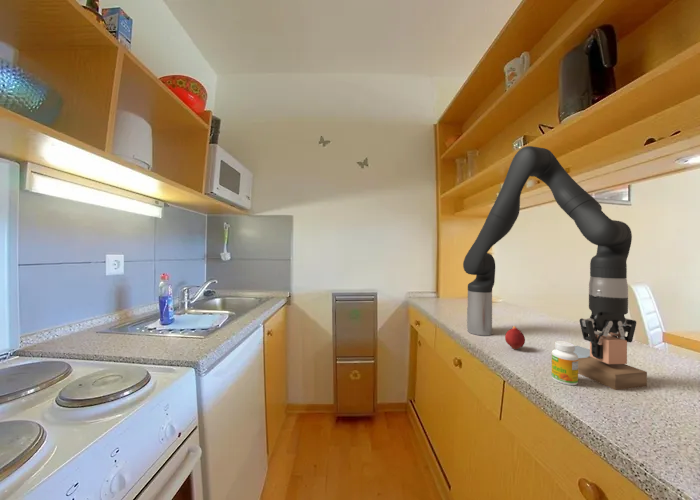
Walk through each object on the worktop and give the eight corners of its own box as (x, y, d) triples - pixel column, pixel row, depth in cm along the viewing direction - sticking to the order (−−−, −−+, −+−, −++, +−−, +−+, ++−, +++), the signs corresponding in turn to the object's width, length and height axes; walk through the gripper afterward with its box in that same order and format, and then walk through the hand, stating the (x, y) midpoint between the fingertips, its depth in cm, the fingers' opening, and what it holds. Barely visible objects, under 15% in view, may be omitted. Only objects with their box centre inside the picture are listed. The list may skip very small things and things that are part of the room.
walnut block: (573, 372, 74) (573, 358, 74) (601, 370, 76) (602, 356, 76) (615, 391, 64) (615, 374, 64) (646, 387, 66) (646, 371, 66)
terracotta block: (589, 356, 73) (590, 334, 73) (607, 356, 73) (607, 334, 73) (608, 364, 68) (608, 340, 68) (626, 363, 68) (627, 340, 68)
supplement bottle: (546, 377, 70) (546, 341, 70) (559, 374, 72) (559, 339, 72) (569, 387, 65) (569, 348, 65) (583, 383, 67) (583, 345, 67)
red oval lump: (520, 346, 93) (520, 324, 93) (528, 353, 87) (528, 329, 87) (502, 345, 94) (502, 323, 94) (509, 351, 88) (509, 328, 88)
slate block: (561, 360, 82) (561, 347, 82) (577, 358, 84) (577, 345, 84) (587, 370, 75) (587, 356, 75) (604, 367, 77) (604, 354, 77)
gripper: (618, 292, 75) (617, 352, 74) (569, 292, 74) (569, 352, 74) (649, 296, 67) (649, 363, 67) (596, 296, 66) (595, 364, 66)
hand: (607, 357), depth 70 cm, fingers closed on terracotta block, 5 cm apart
